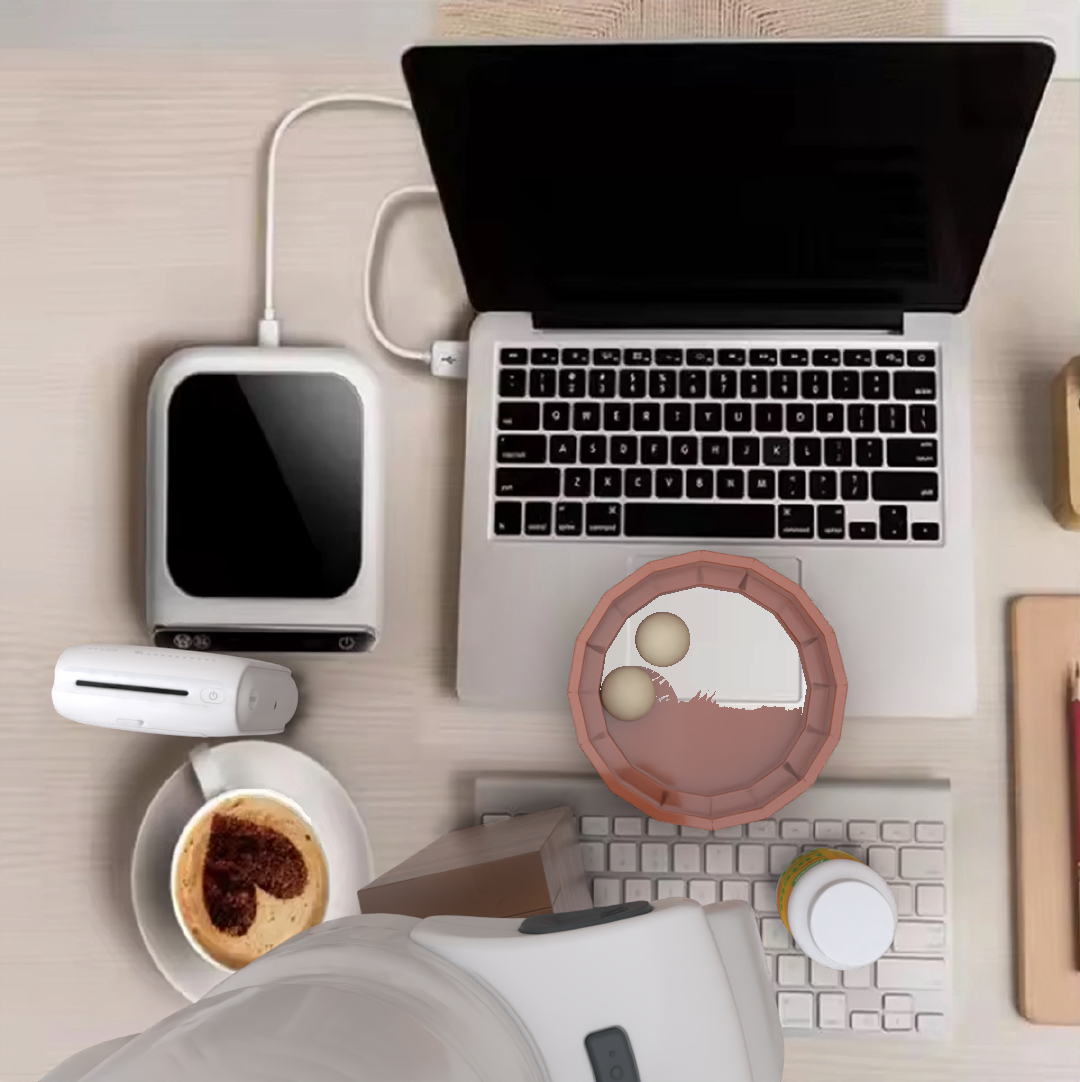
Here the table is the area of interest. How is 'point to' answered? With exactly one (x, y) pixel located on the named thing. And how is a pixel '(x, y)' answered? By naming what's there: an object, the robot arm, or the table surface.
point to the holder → (489, 872)
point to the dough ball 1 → (628, 693)
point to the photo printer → (172, 691)
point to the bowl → (710, 706)
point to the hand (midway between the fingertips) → (446, 999)
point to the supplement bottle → (837, 908)
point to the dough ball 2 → (662, 639)
